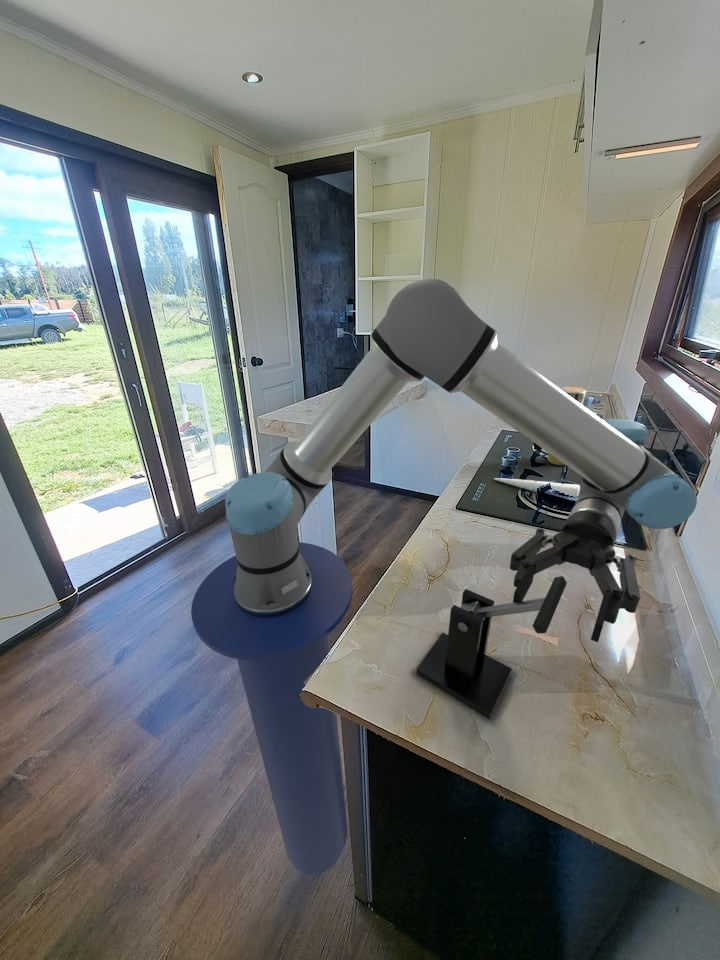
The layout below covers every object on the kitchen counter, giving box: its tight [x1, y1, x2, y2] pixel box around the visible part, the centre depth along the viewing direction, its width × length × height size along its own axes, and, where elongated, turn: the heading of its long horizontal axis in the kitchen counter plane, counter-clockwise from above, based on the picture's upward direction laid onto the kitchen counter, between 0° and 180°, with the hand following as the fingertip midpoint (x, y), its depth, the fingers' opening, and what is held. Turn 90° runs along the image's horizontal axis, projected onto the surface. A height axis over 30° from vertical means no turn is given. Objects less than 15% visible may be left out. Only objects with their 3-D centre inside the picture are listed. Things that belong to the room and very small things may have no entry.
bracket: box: [415, 588, 513, 720], centre depth 58 cm, size 12×9×15 cm
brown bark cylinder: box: [547, 386, 587, 466], centre depth 125 cm, size 7×7×25 cm
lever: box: [459, 575, 568, 634], centre depth 51 cm, size 14×10×2 cm
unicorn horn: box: [493, 477, 581, 497], centre depth 113 cm, size 5×24×5 cm, turn 49°
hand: (554, 615), depth 48 cm, fingers open, 9 cm apart
